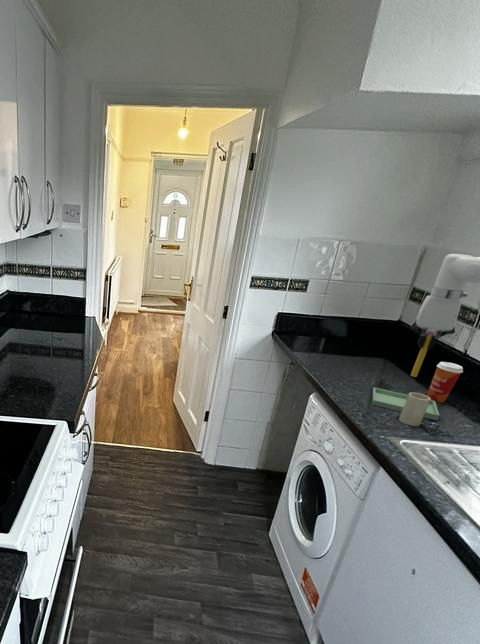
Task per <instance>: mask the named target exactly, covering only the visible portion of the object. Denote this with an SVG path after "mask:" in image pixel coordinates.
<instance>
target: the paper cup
mask: <svg viewBox="0 0 480 644" xmlns="http://www.w3.org/2000/svg"><path fill="white" fill-rule="evenodd" d="M462 373H464V368H463V366H461V365H459V364H457V363H453V362H447V361H440V362H439V363H438V364H437V365H436V370H435V372H434V375H433V377H432V380H431V382H430V385H429V388H428V391H427V394H426V396H428V397H430V398H431V400H433V401H435V403H444V402H446V400H447V398H448V396H449V395H450V393H451V392H452V390H453V388H454V387H455V384H456V383H457V381H458V379H459V377H460V376H461V374H462Z"/></svg>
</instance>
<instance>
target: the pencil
mask: <svg viewBox="0 0 480 644" xmlns="http://www.w3.org/2000/svg"><path fill="white" fill-rule="evenodd" d="M434 334H435V332H433V331H430V330H429V331H428V330H427V332H426V340H425V342H424V345H423V347H422V348H420V350H419V353H418V355H417V358H416V360H415V363H414V365H413V368H412V370H411V373H410V376H411V377H413V378H416V377H418V375H419V372H420V370H421V367H422V364H423V361H424V360H425V357H426V354H427V352H428V350H429V349H428V347H429V344H430V342H431V339H432V337H433V335H434Z"/></svg>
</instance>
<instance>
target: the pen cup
mask: <svg viewBox="0 0 480 644" xmlns="http://www.w3.org/2000/svg"><path fill="white" fill-rule="evenodd" d="M407 395H408V396H407V399H406V402H405V404H404V407H403V409H402V412H400V415H399V417H398V421H399V422H400V423H402V424H404V425H407V426H410V427H411V426H412V427H419V426H421V425H422V422H423V419H424V415H425V412H426V410H427V407H428V405H429V403H430V400H431V398H430V397H428V396H427V394H423V393H420V392H414V391H413V392H408V394H407Z"/></svg>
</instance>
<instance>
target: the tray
mask: <svg viewBox="0 0 480 644" xmlns="http://www.w3.org/2000/svg"><path fill="white" fill-rule="evenodd" d="M371 396H372V397H371V405H373V406H377V407H380V408H385V409H388V410H391V411H396V412H400V413H401V412H402V409H403V407H404V404H405V402H406V399H407V396H408V394H405V393H401V392H395V391H393V390H387V389H383V388H378V387H373V388H372V395H371ZM440 416H441V415H440V412H439V410H438V406H437V402H435V401H433V400H430V403H429V405H428V407H427V410H426V412H425V415H424V417H423V419H428V420H433V421H436V422H438V420H439V418H440Z"/></svg>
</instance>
